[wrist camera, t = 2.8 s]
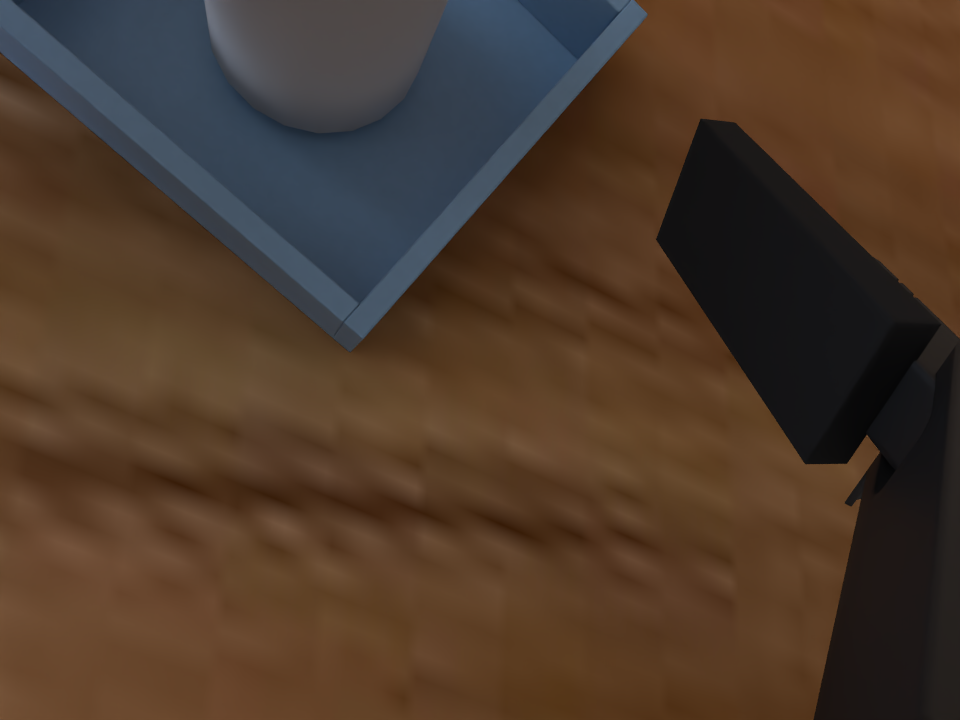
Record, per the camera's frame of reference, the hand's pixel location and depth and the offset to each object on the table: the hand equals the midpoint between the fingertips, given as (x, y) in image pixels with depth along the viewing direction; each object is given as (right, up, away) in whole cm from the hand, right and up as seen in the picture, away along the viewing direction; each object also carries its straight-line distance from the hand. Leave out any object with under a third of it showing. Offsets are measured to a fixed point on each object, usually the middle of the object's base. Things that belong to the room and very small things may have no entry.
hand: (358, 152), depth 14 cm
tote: (-4, +8, +15) cm, 17 cm away
